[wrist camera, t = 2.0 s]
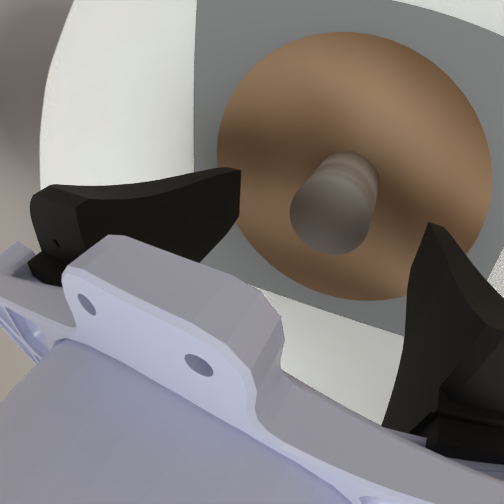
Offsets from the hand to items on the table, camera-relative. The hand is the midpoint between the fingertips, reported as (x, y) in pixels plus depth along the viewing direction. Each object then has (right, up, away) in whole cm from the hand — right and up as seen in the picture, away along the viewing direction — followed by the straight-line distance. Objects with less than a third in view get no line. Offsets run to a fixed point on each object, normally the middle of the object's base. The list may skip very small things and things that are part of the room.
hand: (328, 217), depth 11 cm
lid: (+2, +2, +4) cm, 5 cm away
